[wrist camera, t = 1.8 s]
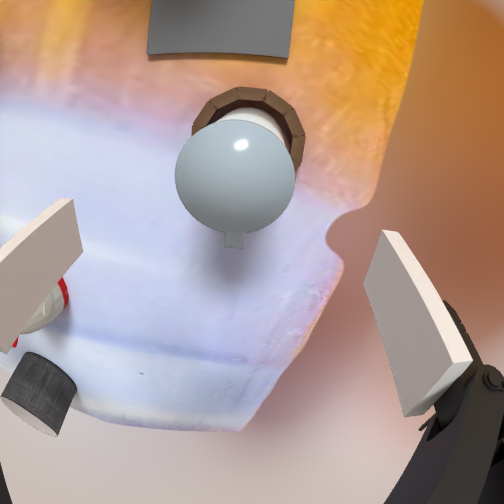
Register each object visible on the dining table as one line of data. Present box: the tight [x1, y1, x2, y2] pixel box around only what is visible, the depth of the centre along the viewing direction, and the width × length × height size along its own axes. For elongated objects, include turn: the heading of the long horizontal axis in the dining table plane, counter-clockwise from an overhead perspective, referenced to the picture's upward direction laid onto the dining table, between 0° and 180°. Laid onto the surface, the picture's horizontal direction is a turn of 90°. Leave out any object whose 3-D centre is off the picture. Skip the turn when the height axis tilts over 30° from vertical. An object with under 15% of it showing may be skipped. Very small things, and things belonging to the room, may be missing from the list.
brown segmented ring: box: [192, 87, 306, 171], centre depth 28 cm, size 11×11×2 cm
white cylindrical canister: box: [175, 107, 295, 249], centre depth 24 cm, size 11×7×13 cm, turn 174°
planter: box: [0, 352, 77, 437], centre depth 54 cm, size 18×18×16 cm
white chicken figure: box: [12, 278, 68, 348], centre depth 35 cm, size 14×14×15 cm
